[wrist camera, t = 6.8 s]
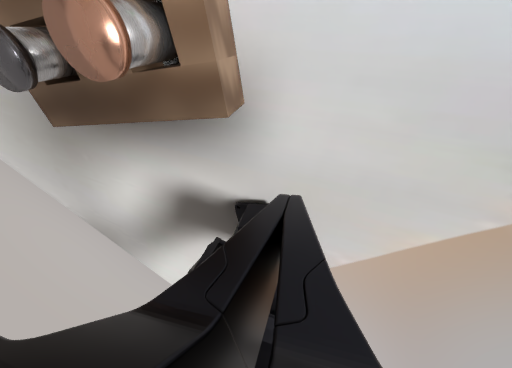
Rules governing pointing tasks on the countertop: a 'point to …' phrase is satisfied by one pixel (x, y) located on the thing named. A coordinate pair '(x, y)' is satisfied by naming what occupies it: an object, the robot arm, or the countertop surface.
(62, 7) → the copper capped plug
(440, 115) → the countertop surface
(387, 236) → the countertop surface
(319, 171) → the countertop surface
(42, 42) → the grey plug
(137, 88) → the socket block
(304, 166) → the countertop surface
